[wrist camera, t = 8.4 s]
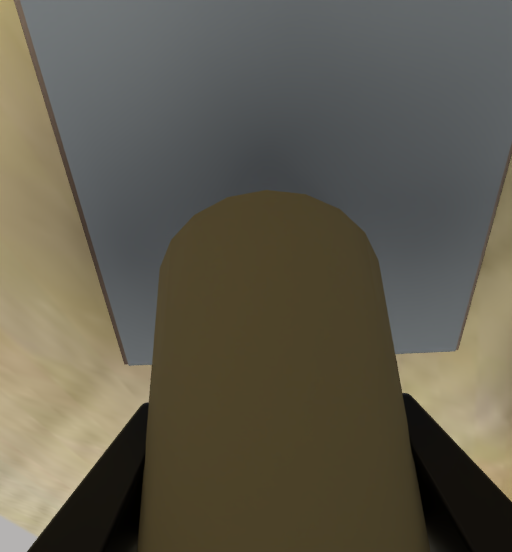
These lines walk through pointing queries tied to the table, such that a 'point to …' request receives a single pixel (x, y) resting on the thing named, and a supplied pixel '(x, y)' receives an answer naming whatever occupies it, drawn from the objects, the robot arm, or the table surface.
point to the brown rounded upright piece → (276, 389)
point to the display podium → (283, 134)
